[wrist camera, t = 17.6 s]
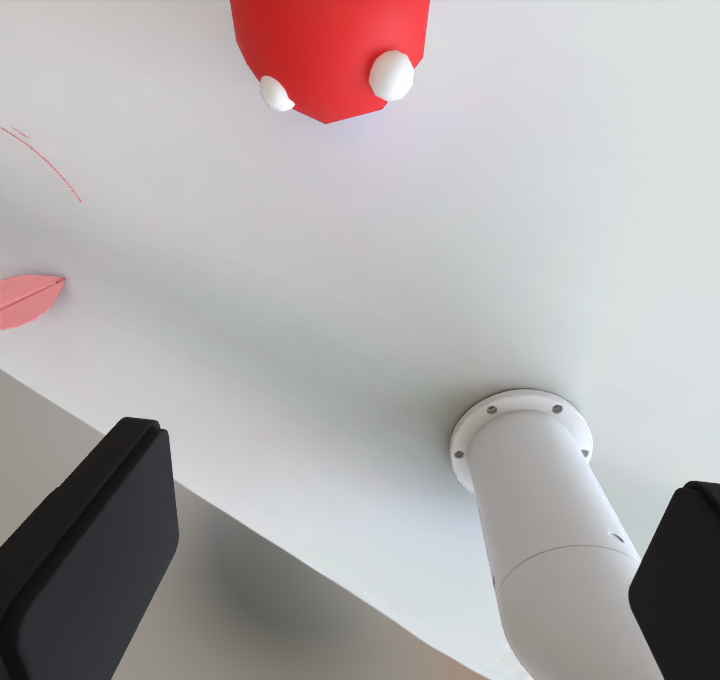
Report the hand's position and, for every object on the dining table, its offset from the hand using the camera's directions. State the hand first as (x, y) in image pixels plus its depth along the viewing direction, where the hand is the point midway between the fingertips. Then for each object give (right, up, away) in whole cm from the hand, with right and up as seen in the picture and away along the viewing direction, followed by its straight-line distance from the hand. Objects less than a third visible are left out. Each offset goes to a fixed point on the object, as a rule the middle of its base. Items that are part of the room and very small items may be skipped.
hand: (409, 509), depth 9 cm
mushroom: (-2, +23, +23) cm, 33 cm away
